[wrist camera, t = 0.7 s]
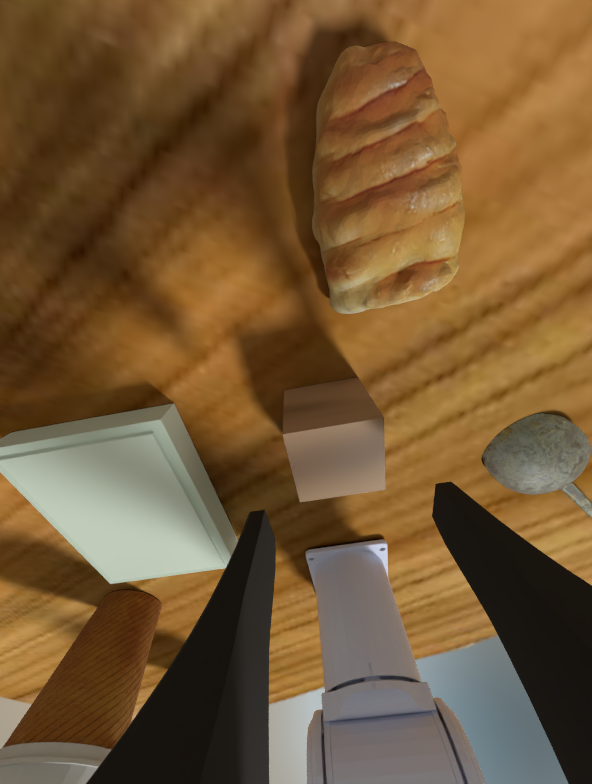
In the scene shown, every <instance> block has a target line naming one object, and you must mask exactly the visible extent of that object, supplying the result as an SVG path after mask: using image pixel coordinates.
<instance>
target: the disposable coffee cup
mask: <svg viewBox="0 0 592 784" xmlns="http://www.w3.org/2000/svg"><path fill="white" fill-rule="evenodd" d="M160 611H161V604H160V602H159V601H158V600H157V599H156V598H155V597H153V596H151V595H149V594H147V593H144V592H139V591H133V590H120V591H115V592H111V593H109V594H107V595H106V596H105V597H104V599H103V600H102V602H101V603H100V605H99V606H98V608H97V609H96V611H95V612H94V614H93V615H92V617H91V618H90V619H89V621H88V622H87V624H86V625H85V627H84V628H83V630H82V631H81V633H80V634H79V636H78V637H77V639H76V640H75V642H74V643H73V644H72V646H71V647H70V649H69V650H68V652H67V653H66V655H65V656H64V658H63V659H62V661H61V662H60V664H59V665H58V667H57V668H56V670H55V671H54V673H53V674H52V676H51V677H50V679H49V680H48V682H47V683H46V684H45V686H44V687H43V689H42V690H41V692H40V693H39V695H38V696H37V698H36V699H35V701H34V702H33V704H32V705H31V707H30V708H29V710H28V711H27V713H26V714H25V715H24V717H23V718H22V720H21V721H20V723H19V724H18V726H17V727H16V729H15V730H14V732H13V733H12V735H11V736H10V738H9V739H8V741H7V742H6V743H5V745H4V746H3V748H2V749H0V784H86V783H87V781H88V780H89V779H90V778H91V776H92V775H93V774H94V772H95V771H96V770H97V768H98V767H99V766H100V764H101V763H102V762H103V760H104V759H105V758H106V756H107V755H108V754H109V752H110V751H111V750H112V748H113V747H114V746H115V744H116V743H117V742H118V740H119V739H120V738H121V736H122V735H123V734H124V732H125V731H126V729H127V728H128V727H129V725H130V723H131V719H132V715H133V712H134V708H135V704H136V700H137V696H138V693H139V689H140V685H141V682H142V678H143V674H144V670H145V667H146V663H147V659H148V655H149V652H150V648H151V644H152V640H153V637H154V633H155V629H156V625H157V622H158V618H159V614H160Z"/></svg>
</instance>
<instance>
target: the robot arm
mask: <svg viewBox="0 0 592 784" xmlns="http://www.w3.org/2000/svg"><path fill="white" fill-rule="evenodd" d="M432 517H433V519H434V521H435V523H436V526H437V528H438V530H439V532H440V534H441V536H442V538H443V540H444V543H445V544H446V546H447V548H448V549H449V551H450V553H451V555H452V556H453V558H454V560H455V561H456V563H457V565H458V566H459V568H460V570H461V571H462V573H463V575H464V576H465V578H466V580H467V581H468V583H469V585H470V586H471V588H472V590H473V591H474V593H475V595H476V596H477V598H478V600H479V601H480V603H481V605H482V606H483V608H484V610H485V611H486V613H487V615H488V617H489V619H490V620H491V622H492V624H493V626H494V628H495V630H496V632H497V634H498V636H499V638H500V640H501V642H502V643H503V645H504V648H505V649H506V651H507V653H508V655H509V657H510V659H511V661H512V663H513V665H514V668H515V670H516V672H517V674H518V676H519V678H520V680H521V682H522V684H523V686H524V688H525V690H526V692H527V694H528V696H529V698H530V700H531V702H532V704H533V707H534V709H535V711H536V713H537V715H538V717H539V720H540V722H541V724H542V726H543V728H544V730H545V732H546V735H547V737H548V739H549V741H550V743H551V745H552V747H553V750H554V752H555V754H556V756H557V759H558V761H559V763H560V765H561V767H562V770H563V772H564V774H565V776H566V779H567V781H568V783H569V784H592V586H591V585H590V584H588V583H587V582H585V581H584V580H582V579H581V578H579V577H578V576H576V575H575V574H573V573H572V572H570V571H569V570H567V569H566V568H564V567H563V566H561V565H560V564H558V563H557V562H555V561H554V560H552V559H551V558H550V557H548V556H547V555H545V554H544V553H543V552H541V551H540V550H538V549H537V548H536V547H534V546H533V545H531V544H530V543H529V542H527V541H526V540H524V539H523V538H522V537H520V536H519V535H518V534H516V533H515V532H514V531H512V530H511V529H510V528H509V527H507V526H506V525H505V524H503V523H502V522H501V521H499V520H498V519H497V518H496V517H494V516H493V515H492V514H490V513H489V512H488V511H487V510H485V509H484V508H483V507H482V506H480V505H479V504H478V503H477V502H475V501H474V500H473V499H472V498H471V497H469V496H468V495H467V494H466V493H464V492H463V491H462V490H461V489H460V488H458V487H457V486H456V485H455V484H453V483H452V482H446V483H439V484H436V487H435V496H434V505H433V514H432ZM306 559H307V563H308V566H309V570H310V574H311V577H312V581H313V584H314V588H315V591H316V595H317V606H318V617H319V628H320V640H321V651H322V662H323V674H324V685H325V693H322V705H323V706H322V707H323V710H317V711H315V712H314V715H313V719H312V720H311V723H310V725H309V728H308V735H307V784H486V782H485V780H484V777H483V774H482V772H481V769H480V767H479V764H478V762H477V759H476V757H475V754H474V752H473V749H472V747H471V745H470V743H469V740H468V738H467V736H466V734H465V732H464V730H463V728H462V726H461V724H460V722H459V720H458V718H457V717H456V715H455V714H454V713H453V711H452V710H450V709H449V708H448V706H446V704H445V703H444V702H443V700H442V699H440V698H432V694H431V691H430V688H429V685H428V683H427V682H422V681H421V678H420V675H419V672H418V669H417V666H416V662H415V659H414V656H413V653H412V650H411V647H410V644H409V641H408V638H407V635H406V632H405V628H404V625H403V622H402V619H401V616H400V613H399V610H398V607H397V604H396V601H395V598H394V594H393V591H392V588H391V585H390V582H389V579H388V551H387V543H386V541H385V540H383V539H381V540H374V541H367V542H359V543H352V544H345V545H338V546H331V547H324V548H317V549H310V550H307V551H306ZM274 579H275V537H274V534H273V532H272V529H271V526H270V523H269V520H268V518H267V515H266V512H265V510H260V511H254V512H250V513H249V515H248V518H247V521H246V523H245V526H244V528H243V531H242V533H241V535H240V538H239V540H238V542H237V545H236V547H235V549H234V552H233V554H232V556H231V558H230V560H229V562H228V564H227V567H226V569H225V571H224V573H223V575H222V577H221V579H220V581H219V583H218V585H217V587H216V589H215V591H214V593H213V594H212V596H211V598H210V600H209V602H208V604H207V606H206V607H205V609H204V611H203V613H202V615H201V616H200V618H199V620H198V622H197V623H196V625H195V627H194V628H193V630H192V632H191V634H190V635H189V637H188V638H187V640H186V642H185V643H184V645H183V646H182V648H181V650H180V651H179V653H178V655H177V656H176V658H175V659H174V661H173V662H172V664H171V666H170V667H169V669H168V670H167V672H166V673H165V675H164V676H163V678H162V679H161V681H160V682H159V684H158V685H157V686H156V688H155V689H154V691H153V692H152V694H151V695H150V697H149V698H148V699H147V701H146V702H145V704H144V705H143V707H142V708H141V710H140V711H139V712H138V714H137V715H136V717H135V718H134V720H133V721H132V722H131V724H130V725H129V727H128V728H127V729H126V731H125V732H124V734H123V735H122V736H121V738H120V739H119V740H118V742H117V743H116V744H115V746H114V747H113V748H112V750H111V751H110V752H109V754H108V755H107V756H106V758H105V759H104V760H103V762H102V763H101V764H100V766H99V767H98V768H97V770H96V771H95V772H94V774H93V775H92V776H91V778H90V779H89V780H88V781H87V783H86V784H269V732H268V731H269V728H268V723H269V722H268V720H269V719H268V718H269V717H268V716H269V715H268V714H269V713H268V710H269V709H268V708H269V642H270V627H271V615H272V603H273V592H274Z"/></svg>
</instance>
